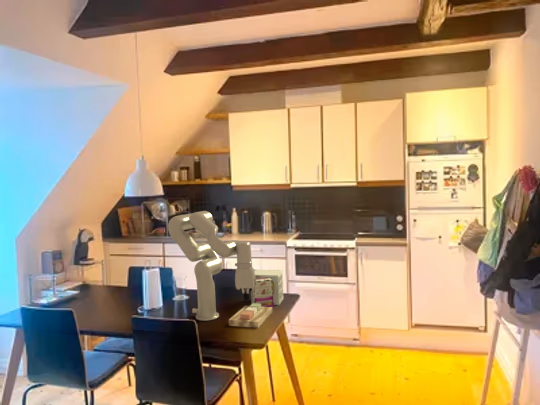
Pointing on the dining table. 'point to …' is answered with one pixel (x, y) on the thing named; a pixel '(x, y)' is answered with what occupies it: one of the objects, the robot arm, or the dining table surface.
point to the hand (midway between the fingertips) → (247, 300)
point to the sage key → (256, 306)
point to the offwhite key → (252, 310)
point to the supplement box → (276, 283)
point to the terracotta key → (246, 315)
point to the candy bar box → (263, 292)
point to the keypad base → (256, 319)
